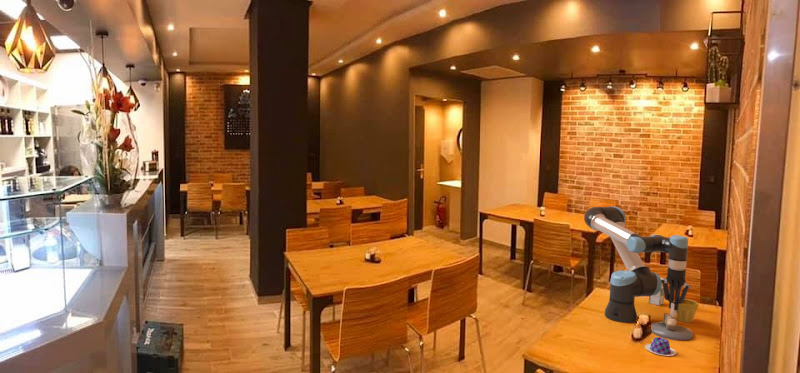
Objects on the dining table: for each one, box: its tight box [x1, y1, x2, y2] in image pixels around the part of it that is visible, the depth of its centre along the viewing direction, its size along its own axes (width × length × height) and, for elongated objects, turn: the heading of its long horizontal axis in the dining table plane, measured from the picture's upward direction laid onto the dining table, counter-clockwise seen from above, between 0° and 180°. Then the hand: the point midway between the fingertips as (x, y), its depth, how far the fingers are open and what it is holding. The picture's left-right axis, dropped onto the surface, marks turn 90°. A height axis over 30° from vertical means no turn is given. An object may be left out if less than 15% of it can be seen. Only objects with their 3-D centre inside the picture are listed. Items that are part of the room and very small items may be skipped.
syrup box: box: [648, 277, 665, 306], centre depth 271 cm, size 6×6×14 cm
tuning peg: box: [663, 312, 678, 330], centre depth 232 cm, size 10×4×5 cm, turn 169°
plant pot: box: [676, 298, 699, 323], centre depth 247 cm, size 10×10×10 cm
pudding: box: [644, 336, 677, 357], centre depth 210 cm, size 12×12×5 cm
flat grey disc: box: [651, 321, 694, 342], centre depth 230 cm, size 18×18×2 cm
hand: (672, 315), depth 234 cm, fingers closed
